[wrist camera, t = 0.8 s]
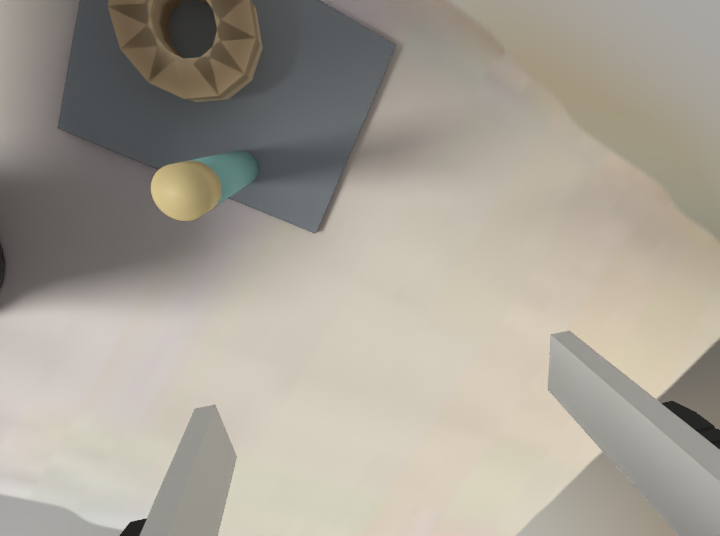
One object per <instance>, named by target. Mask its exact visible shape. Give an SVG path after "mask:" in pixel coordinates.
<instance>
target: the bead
mask: <svg viewBox="0 0 720 536" xmlns="http://www.w3.org/2000/svg"><path fill="white" fill-rule="evenodd" d="M183 1H195V0H109V1H108V9H109V12H110V16H111V19H112V23H113V26H114V29H115V33H116V36H117V40H118V43H119V46H120V49H121V51H122V52H123V53H124V54H125V55H126V56H127V58H128V59H129V60H130V61H131V62H132V64H133V65H134V66H135V67H136V68H137V69H138V71H139V72H140V73H141V74H142V75H143V77H144V78H145V79H146V80H147V81H148V82H149V83H151V84H153V85H155V86H157V87H159V88H162V89H164V90H166V91H168V92H170V93H172V94H175V95H177V96H179V97H181V98H183V99H186V100H190V101H195V102H206V101H217V100H228V99H230V98H231V97H232V96H234V95H235V94H236V93H237V92H238V91H240V90H241V89H242V88H243V87H244V86H246V85H247V84H248V83H249V82H250V81H252V79H253V76H254V73H255V70H256V67H257V64H258V61H259V58H260V55H261V52H262V48H263V46H262V40H261V34H260V28H259V22H258V16H257V10H256V8H255V6H254V5H253V3H252V1H251V0H200V1H201V2H203V3H205V4H207V5H209V6H211V8H212V9H213V11H214V16H215V21H216V26H217V32H216V36H215V39H214V43H213V46H212V48H210V49H209V50H208V51H207V52H206V53H205V54H203V55H202V56H201V57H197V58H185V59H184V58H182V57H181V55H180V54H179V53H178V51H177V50H176V49H175V48H174V46H173V45H172V41H171V37H170V33H169V29H168V26H169V22H170V18H171V14H172V11H173V10H174V9H175V8H177V7H178V6H179V5H180V4H181V3H182V2H183Z"/></svg>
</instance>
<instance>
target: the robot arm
mask: <svg viewBox="0 0 720 536" xmlns="http://www.w3.org/2000/svg"><path fill="white" fill-rule="evenodd" d="M3 277H4V259H3V254H2V250H1V247H0V288H1V285H2V282H3ZM548 391H549V392H550V393H551V394H552V395H553V396H554V397H555V398H556V399H557V401H558V402H559V403H560V404H561V405H562V406H563V407H564V408H565V410H566V411H567V412H568V413H569V414H570V415H571V416H572V417H573V419H574V420H575V421H576V422H577V423H578V424H579V425H580V426H581V428H582V429H583V430H584V431H585V432H586V433H587V434H588V435H589V436H590V438H591V439H592V440H593V441H594V442H595V443H596V444H597V445H598V447H599V448H600V449H601V450H602V451H603V452H604V453H605V454H606V456H607V457H608V458H609V459H610V460H611V461H612V462H613V463H614V465H616V467H617V468H618V469H619V470H620V471H621V472H622V473H623V475H624V476H625V477H626V478H627V479H628V480H629V481H630V482H631V484H632V485H633V486H634V487H635V488H636V489H637V490H638V491H639V492H640V494H641V495H642V496H643V497H644V498H645V499H646V500H647V502H648V503H649V504H650V505H651V506H652V507H653V508H654V509H655V510H656V512H657V513H658V514H659V515H660V516H661V517H662V518H663V519H664V520H665V522H666V523H667V524H668V525H669V526H670V527H671V528H672V529H673V531H674V532H675V533H676V534H677V535H678V536H720V430H719V429H715V427H714V425H712V424H711V423H709V422H708V421H707V420H705V419H704V418H703V417H701V416H700V415H699V414H697V413H696V412H695V411H692V410H690V409H688V408H686V407H684V406H682V405H680V404H678V403H676V402H674V401H669V402H665V403H660V402H659V401H658V400H656V399H655V398H654V397H652V396H651V395H650V394H649V393H647V392H646V391H645V390H644V389H642V388H641V387H640V386H639V385H637V384H636V383H635V382H634V381H632V380H631V379H630V378H628V377H627V376H626V375H625V374H623V373H622V372H621V371H620V370H618V369H617V368H616V367H615V366H613V365H612V364H611V363H610V362H608V361H607V360H606V359H604V358H603V357H602V356H601V355H599V354H598V353H597V352H596V351H594V350H593V349H592V348H591V347H589V346H588V345H587V344H586V343H584V342H583V341H582V340H580V339H579V338H578V337H577V336H575V335H574V334H573V333H572V332H570V331H566V332H561V333H556V334H552V335H551V341H550V359H549V376H548ZM236 458H237V456H236V454H235V451H234V449H233V446H232V444H231V442H230V439H229V437H228V434H227V432H226V429H225V427H224V424H223V422H222V420H221V417H220V415H219V412H218V410H217V407H216V405H211V406H206V407H202V408H197V409H195V410H194V412H193V414H192V416H191V419H190V421H189V423H188V426H187V428H186V430H185V432H184V435H183V437H182V439H181V442H180V444H179V446H178V449H177V451H176V453H175V455H174V458H173V460H172V462H171V465H170V467H169V469H168V471H167V474H166V476H165V478H164V481H163V483H162V485H161V488H160V490H159V492H158V494H157V497H156V499H155V501H154V504H153V506H152V508H151V510H150V513H149V515H148V517H147V518H146V519H142V520H137V521H133V522H130V523H129V524H128V526H127V527H126V528H125V529H124V531H123V532H122V533H121V534H120V536H218V532H219V528H220V524H221V520H222V516H223V512H224V508H225V504H226V499H227V495H228V491H229V487H230V483H231V479H232V475H233V471H234V467H235V462H236Z"/></svg>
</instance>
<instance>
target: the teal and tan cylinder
mask: <svg viewBox="0 0 720 536" xmlns="http://www.w3.org/2000/svg"><path fill="white" fill-rule="evenodd" d="M258 173H259V165H258V162H257V160H256V158H255V157H254V156H253V155H252V154H250V153H249V152H247V151H242V150H239V151H233V152H228V153H223V154H218V155H213V156H209V157H204V158H199V159H194V160H189V161H184V162H179V163H174V164H169V165H166V166H164V167H162V168H160V169H159V170H158V171H157V172H156V173H155V175H154V177H153V179H152V182H151V194H152V197H153V200H154V202H155V204H156V205H157V207H158V208H159V209H160V210H161V211H162V212H163V213H164V214H166V215H167V216H169V217H171V218H173V219H176V220H180V221H191V220H195V219H197V218H199V217H201V216H202V215H204V214H205V213H207V212H208V211H210V210H211V209H213V208H214V207H215V206H217V205H218V204H220V203H221V202H223V201H224V200H226V199H227V198H229V197H230V196H232V195H233V194H235V193H236V192H238V191H239V190H241V189H242V188H244V187H245V186H247V185H248V184H250V183H251V182H252V181H254V180H255V179H256V177H257V176H258Z"/></svg>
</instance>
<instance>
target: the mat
mask: <svg viewBox="0 0 720 536" xmlns="http://www.w3.org/2000/svg"><path fill="white" fill-rule="evenodd" d="M108 1H109V0H80V2H79V8H78V14H77V20H76V25H75V31H74V37H73V43H72V49H71V54H70V60H69V66H68V72H67V78H66V83H65V89H64V95H63V101H62V107H61V112H60V118H59V124H58V128H59V129H61V130H64V131H66V132H68V133H71V134H73V135H76V136H78V137H81V138H83V139H86V140H88V141H90V142H93V143H95V144H98V145H100V146H103V147H105V148H108V149H110V150H112V151H115V152H117V153H120V154H122V155H125V156H127V157H129V158H132V159H134V160H137V161H139V162H142V163H144V164H147V165H149V166H151V167H154V168H156V169H160V168H162V167H164V166H166V165H169V164H174V163H179V162H184V161H189V160H194V159H199V158H204V157H209V156H213V155H218V154H223V153H228V152H233V151H239V150H242V151H247V152H249V153H250V154H252V155H253V156H254V157H255V158H256V160H257V162H258V165H259V173H258V176H257V177H256V179H255V180H254V181H252V182H251V183H250V184H248V185H247V186H245V187H244V188H242V189H241V190H239V191H238V192H236V193H235V194H233V195H232V196H230V197H229V198H230V199H232V200H234V201H237V202H239V203H242V204H244V205H247V206H249V207H252V208H254V209H256V210H259V211H261V212H264V213H266V214H269V215H271V216H274V217H276V218H278V219H281V220H283V221H286V222H288V223H291V224H293V225H295V226H298V227H300V228H303V229H305V230H308V231H310V232H313V233H315V234H316V232H317V229H318V227H319V225H320V222H321V220H322V218H323V215H324V213H325V211H326V208H327V206H328V204H329V201H330V199H331V197H332V194H333V192H334V190H335V187H336V185H337V183H338V180H339V178H340V176H341V173H342V171H343V168H344V166H345V164H346V161H347V159H348V157H349V154H350V152H351V150H352V147H353V145H354V143H355V140H356V138H357V136H358V133H359V131H360V129H361V126H362V124H363V122H364V119H365V117H366V115H367V112H368V110H369V108H370V105H371V103H372V101H373V98H374V96H375V94H376V91H377V89H378V87H379V84H380V82H381V80H382V77H383V75H384V73H385V70H386V68H387V66H388V63H389V61H390V58H391V56H392V54H393V51H394V49H395V47H396V45H395V44H394V43H392V42H390V41H389V40H387V39H385V38H383V37H382V36H380V35H378V34H376V33H375V32H373V31H371V30H369V29H368V28H366V27H364V26H362V25H361V24H359V23H357V22H356V21H354V20H352V19H350V18H349V17H347V16H345V15H343V14H342V13H340V12H338V11H336V10H335V9H333V8H331V7H329V6H328V5H326V4H324V3H323V2H321V1H319V0H251V1H252V3H253V5H254V6H255V8H256V10H257V16H258V22H259V28H260V34H261V40H262V46H263V48H262V52H261V55H260V58H259V61H258V64H257V67H256V70H255V73H254V76H253V79H252V81H250V82H249V83H248V84H247V85H246V86H244V87H243V88H242V89H241V90H240V91H238V92H237V93H236V94H235V95H234V96H232V97H231V98H230V99H228V100H217V101H206V102H195V101H190V100H186V99H183V98H181V97H179V96H177V95H175V94H172V93H170V92H168V91H166V90H164V89H162V88H159V87H157V86H155V85H153V84H151V83H149V82H148V81H147V80H146V79H145V78H144V77H143V75H142V74H141V73H140V72H139V71H138V69H137V68H136V67H135V66H134V65H133V64H132V62H131V61H130V60H129V59H128V58H127V56H126V55H125V54H124V53H123V52H122V51H121V49H120V46H119V43H118V40H117V36H116V33H115V29H114V26H113V23H112V19H111V16H110V12H109V9H108ZM168 29H169V33H170V37H171V41H172V45H173V46H174V48H175V49H176V50H177V51H178V53H179V54H180V55H181V57H182V58H184V59H185V58H197V57H201V56H202V55H203V54H205V53H206V52H207V51H208V50H209V49H210V48H212V46H213V43H214V39H215V36H216V32H217V26H216V21H215V16H214V11H213V9H212V8H211V6H209V5H207V4H205V3H203V2H201V1H200V0H195V1H183V2H182V3H181V4H180V5H179V6H178V7H177V8H175V9H174V10H173V11H172V14H171V18H170V22H169V26H168Z"/></svg>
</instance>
